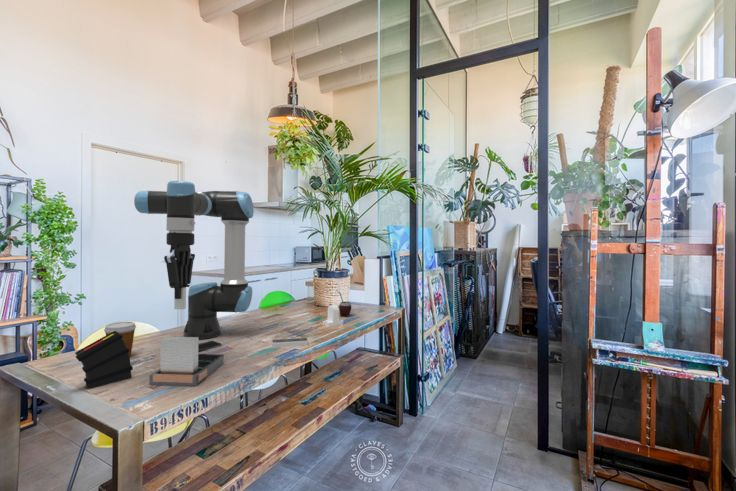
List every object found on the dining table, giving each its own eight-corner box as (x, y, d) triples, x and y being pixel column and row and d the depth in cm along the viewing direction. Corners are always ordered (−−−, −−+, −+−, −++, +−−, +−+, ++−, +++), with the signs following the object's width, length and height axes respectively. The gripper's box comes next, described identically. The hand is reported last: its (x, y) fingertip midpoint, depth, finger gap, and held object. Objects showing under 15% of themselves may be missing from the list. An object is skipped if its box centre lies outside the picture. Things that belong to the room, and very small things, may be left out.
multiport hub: (307, 346, 143) (308, 340, 143) (272, 348, 139) (272, 343, 139) (306, 343, 148) (306, 337, 148) (271, 345, 143) (271, 339, 143)
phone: (175, 349, 132) (211, 340, 145) (175, 352, 132) (211, 343, 145) (186, 353, 128) (222, 343, 140) (186, 356, 128) (222, 346, 140)
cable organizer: (322, 324, 177) (322, 305, 177) (338, 322, 184) (338, 303, 183) (327, 326, 173) (328, 307, 173) (343, 324, 179) (344, 305, 179)
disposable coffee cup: (141, 356, 126) (141, 323, 126) (111, 364, 118) (111, 329, 118) (128, 351, 131) (128, 320, 131) (98, 358, 123) (98, 325, 123)
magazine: (143, 369, 110) (119, 331, 104) (97, 400, 101) (68, 360, 95) (139, 366, 112) (116, 329, 107) (94, 396, 103) (65, 357, 98)
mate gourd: (353, 316, 196) (353, 290, 196) (340, 318, 192) (341, 291, 192) (347, 314, 202) (347, 288, 202) (335, 315, 199) (335, 289, 198)
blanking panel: (160, 378, 105) (160, 339, 104) (166, 374, 108) (166, 336, 107) (192, 379, 104) (193, 340, 104) (198, 375, 107) (198, 337, 107)
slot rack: (149, 384, 103) (149, 374, 103) (184, 361, 122) (184, 353, 122) (197, 386, 102) (197, 376, 102) (224, 363, 121) (224, 354, 121)
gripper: (180, 232, 99) (180, 313, 99) (203, 232, 112) (202, 304, 112) (155, 231, 99) (154, 313, 99) (180, 232, 112) (180, 304, 112)
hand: (180, 308), depth 106 cm, fingers closed
